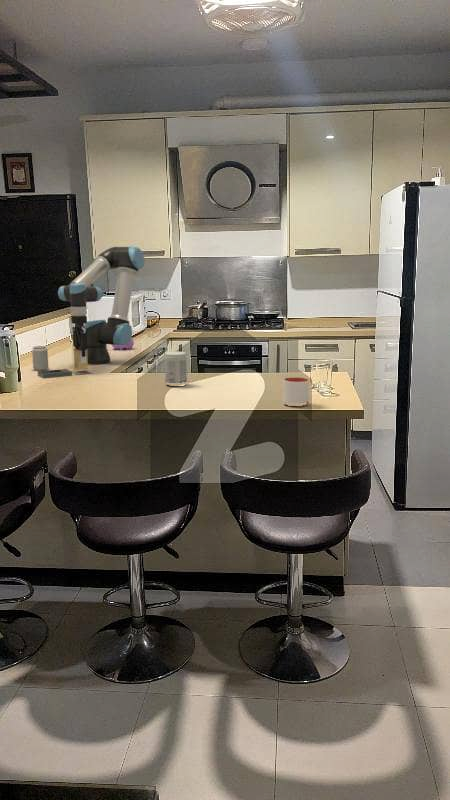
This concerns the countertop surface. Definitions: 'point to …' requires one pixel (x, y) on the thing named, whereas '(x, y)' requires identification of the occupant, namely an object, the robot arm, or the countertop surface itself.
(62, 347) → the countertop surface
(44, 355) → the can
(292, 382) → the cup
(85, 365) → the nut block
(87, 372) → the rubber pad
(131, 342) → the teapot
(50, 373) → the dark grey flat slab
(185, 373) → the supplement tub
